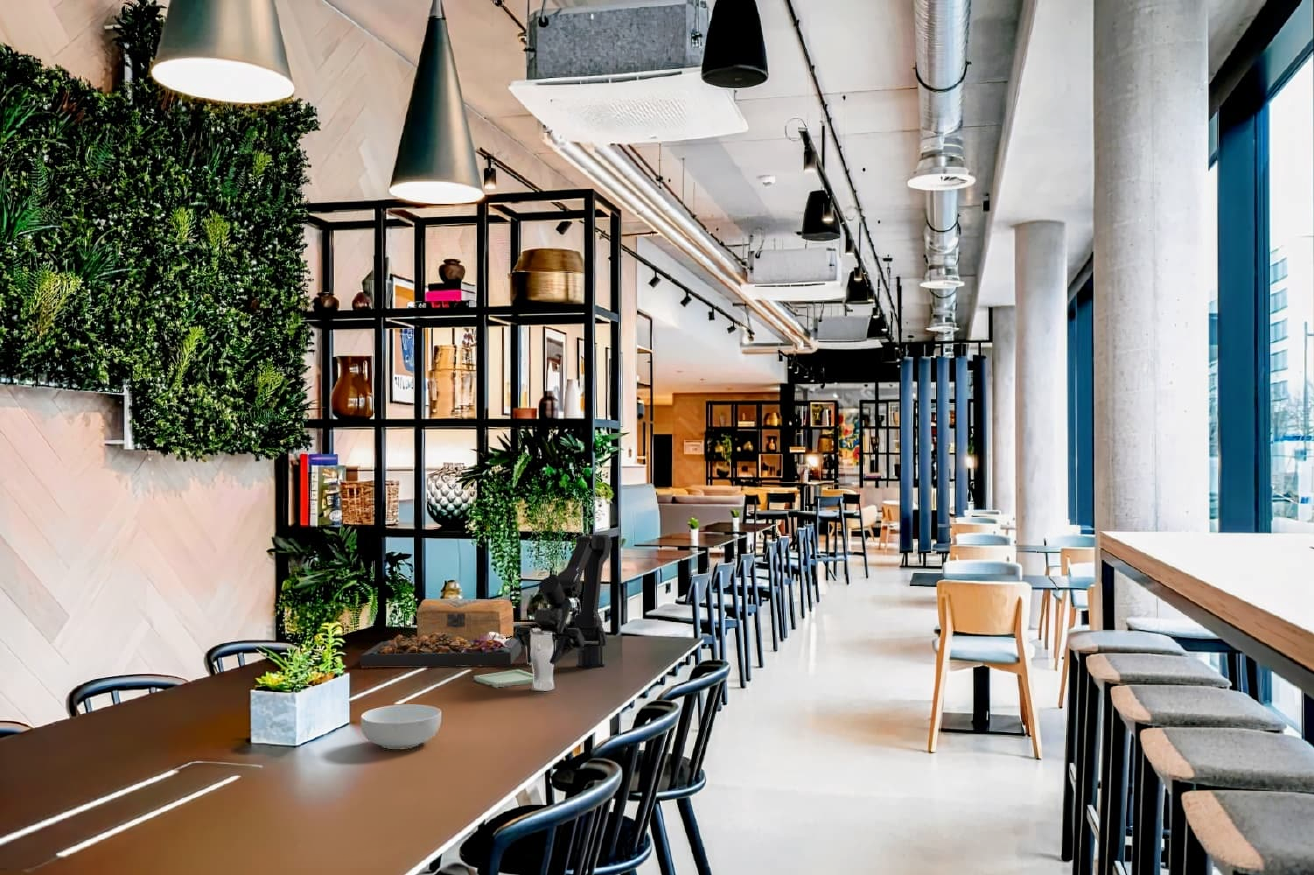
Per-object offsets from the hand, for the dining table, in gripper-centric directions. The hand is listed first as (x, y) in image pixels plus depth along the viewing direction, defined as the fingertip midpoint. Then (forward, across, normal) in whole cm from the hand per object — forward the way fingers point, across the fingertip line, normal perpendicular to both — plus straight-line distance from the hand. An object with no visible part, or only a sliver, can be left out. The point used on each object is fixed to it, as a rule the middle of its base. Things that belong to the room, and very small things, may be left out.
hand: (540, 663), depth 285 cm
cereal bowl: (+46, -5, -36) cm, 59 cm away
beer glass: (+4, 0, +6) cm, 7 cm away
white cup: (-19, -17, +30) cm, 39 cm away
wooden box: (-44, -62, +54) cm, 93 cm away
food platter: (-18, -49, +29) cm, 60 cm away
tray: (-1, -14, +11) cm, 18 cm away
